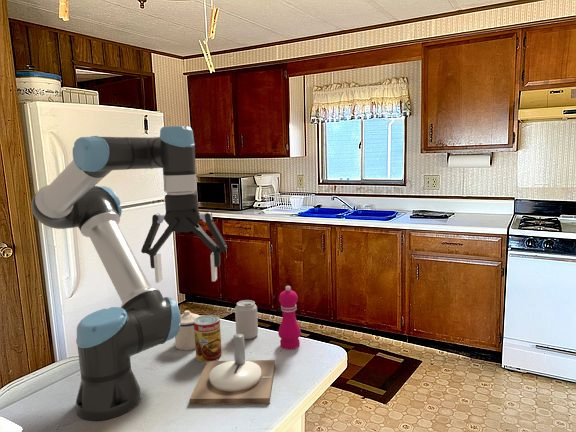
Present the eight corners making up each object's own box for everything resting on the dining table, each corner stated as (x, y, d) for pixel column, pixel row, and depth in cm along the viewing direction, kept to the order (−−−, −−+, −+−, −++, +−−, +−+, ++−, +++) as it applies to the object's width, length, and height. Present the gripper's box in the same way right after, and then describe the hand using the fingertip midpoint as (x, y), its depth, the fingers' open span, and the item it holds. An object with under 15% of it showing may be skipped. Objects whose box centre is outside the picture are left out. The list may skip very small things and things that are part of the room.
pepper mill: (299, 351, 134) (297, 289, 131) (276, 349, 135) (274, 288, 133) (302, 341, 141) (301, 282, 138) (281, 340, 142) (279, 282, 140)
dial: (256, 392, 108) (254, 357, 107) (202, 390, 110) (200, 355, 108) (265, 365, 122) (264, 334, 121) (217, 364, 124) (215, 333, 122)
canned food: (204, 365, 127) (201, 326, 125) (191, 356, 133) (188, 319, 131) (226, 356, 132) (224, 319, 130) (213, 348, 138) (211, 313, 136)
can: (249, 342, 142) (247, 307, 140) (231, 337, 146) (230, 304, 144) (262, 334, 148) (261, 300, 146) (245, 330, 152) (243, 297, 150)
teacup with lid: (204, 348, 138) (202, 314, 137) (175, 352, 136) (172, 317, 134) (201, 334, 150) (199, 302, 148) (174, 338, 147) (172, 305, 146)
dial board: (190, 404, 107) (189, 398, 106) (207, 365, 126) (207, 360, 126) (269, 403, 106) (269, 397, 106) (275, 364, 126) (274, 359, 125)
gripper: (236, 190, 104) (240, 275, 106) (135, 193, 105) (142, 277, 107) (230, 192, 96) (235, 283, 99) (122, 196, 97) (129, 286, 100)
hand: (186, 280), depth 103 cm, fingers open, 13 cm apart
